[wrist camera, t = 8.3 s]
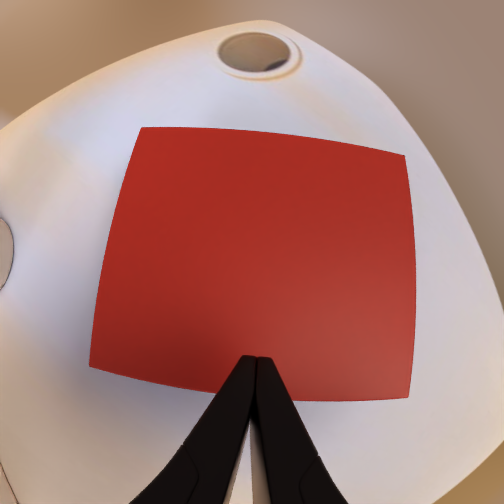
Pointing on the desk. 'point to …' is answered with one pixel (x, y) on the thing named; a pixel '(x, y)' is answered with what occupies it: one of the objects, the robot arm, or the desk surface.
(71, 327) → the desk surface
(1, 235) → the pill bottle
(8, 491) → the container
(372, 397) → the lid
